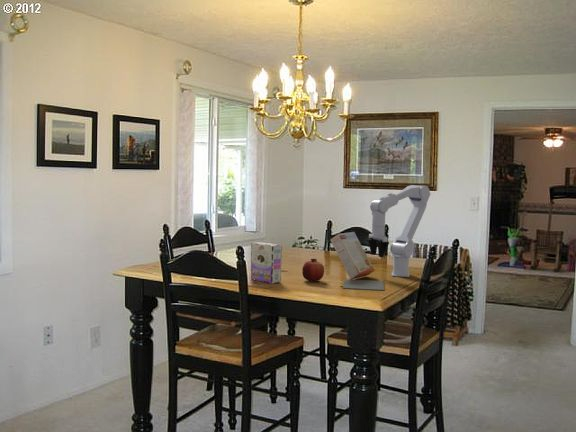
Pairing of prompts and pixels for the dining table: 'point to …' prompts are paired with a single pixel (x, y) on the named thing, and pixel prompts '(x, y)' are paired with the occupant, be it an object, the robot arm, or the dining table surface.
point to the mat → (363, 285)
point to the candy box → (266, 262)
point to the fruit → (313, 270)
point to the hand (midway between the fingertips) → (377, 255)
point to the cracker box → (352, 255)
